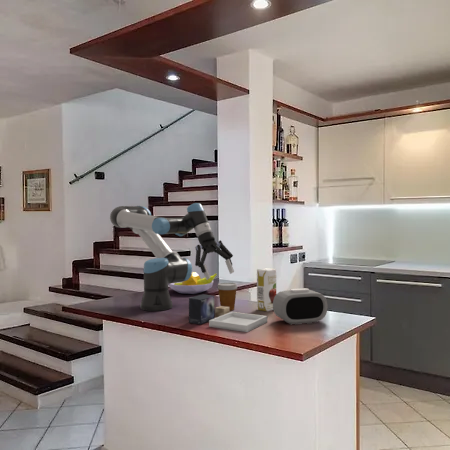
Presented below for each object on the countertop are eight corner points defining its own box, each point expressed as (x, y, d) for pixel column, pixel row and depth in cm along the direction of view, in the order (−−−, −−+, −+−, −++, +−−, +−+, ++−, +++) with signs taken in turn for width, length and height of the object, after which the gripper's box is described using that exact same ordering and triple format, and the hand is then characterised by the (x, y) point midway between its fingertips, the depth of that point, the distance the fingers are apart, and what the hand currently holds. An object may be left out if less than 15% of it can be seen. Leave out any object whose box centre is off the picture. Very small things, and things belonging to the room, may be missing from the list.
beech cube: (215, 318, 190) (215, 307, 190) (220, 316, 194) (220, 305, 194) (224, 319, 188) (224, 308, 188) (229, 317, 192) (229, 306, 192)
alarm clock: (282, 326, 175) (281, 292, 175) (272, 320, 184) (272, 288, 184) (328, 322, 181) (328, 289, 181) (317, 317, 190) (317, 286, 190)
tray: (209, 326, 175) (209, 320, 175) (231, 317, 191) (231, 311, 191) (246, 332, 167) (246, 325, 167) (267, 322, 182) (267, 315, 182)
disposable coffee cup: (235, 312, 201) (235, 286, 201) (215, 311, 203) (215, 285, 202) (239, 307, 210) (239, 282, 210) (219, 307, 212) (219, 282, 212)
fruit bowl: (158, 293, 251) (158, 273, 250) (188, 286, 273) (188, 268, 273) (196, 298, 235) (196, 277, 234) (225, 290, 257) (225, 271, 257)
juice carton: (254, 309, 205) (254, 269, 205) (265, 306, 212) (265, 267, 211) (267, 312, 200) (267, 270, 200) (278, 309, 207) (278, 268, 206)
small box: (201, 325, 178) (200, 299, 178) (188, 323, 182) (187, 297, 181) (215, 319, 187) (215, 295, 187) (202, 317, 191) (202, 293, 190)
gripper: (185, 234, 198) (201, 278, 192) (229, 227, 213) (245, 267, 207) (178, 241, 204) (194, 284, 198) (221, 233, 219) (237, 273, 213)
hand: (220, 275), depth 203 cm, fingers open, 13 cm apart
